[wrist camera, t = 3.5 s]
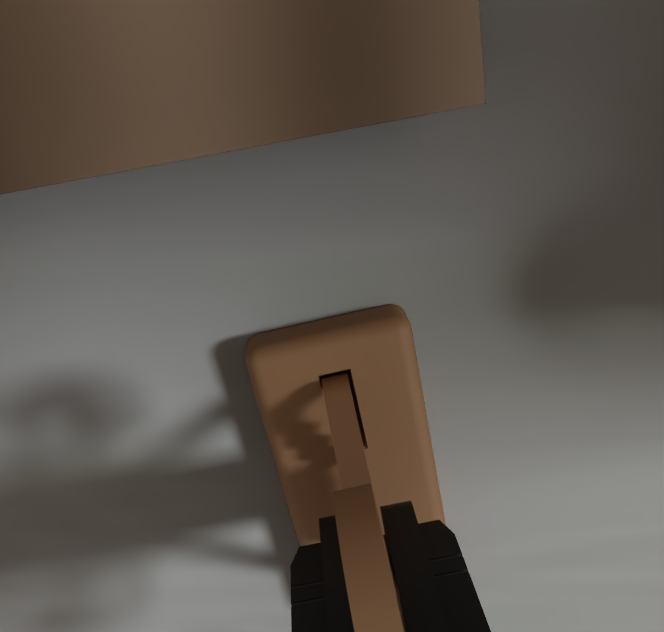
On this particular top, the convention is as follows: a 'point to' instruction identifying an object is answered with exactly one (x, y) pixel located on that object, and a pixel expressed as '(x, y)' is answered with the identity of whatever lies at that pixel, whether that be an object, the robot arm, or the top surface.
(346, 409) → the gingerbread man figurine
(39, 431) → the top surface
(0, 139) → the walnut plinth
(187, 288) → the top surface
